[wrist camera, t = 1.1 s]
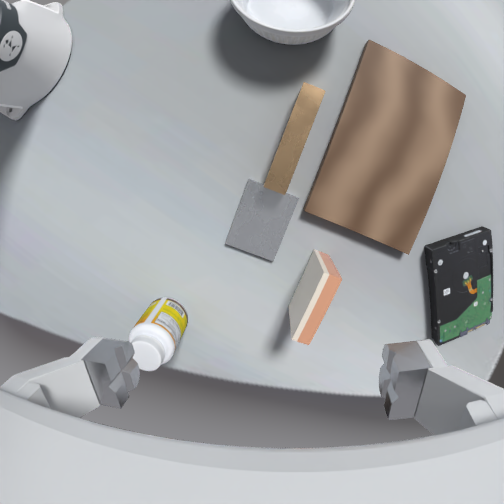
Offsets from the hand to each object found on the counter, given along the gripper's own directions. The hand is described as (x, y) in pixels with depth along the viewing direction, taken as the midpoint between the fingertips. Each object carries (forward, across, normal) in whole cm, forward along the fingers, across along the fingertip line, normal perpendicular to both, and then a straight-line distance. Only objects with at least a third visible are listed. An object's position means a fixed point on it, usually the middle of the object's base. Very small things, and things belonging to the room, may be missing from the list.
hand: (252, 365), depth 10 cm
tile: (+30, -2, +8) cm, 31 cm away
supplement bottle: (+28, +16, +12) cm, 35 cm away
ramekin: (+29, -2, -26) cm, 39 cm away
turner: (+29, 0, -5) cm, 29 cm away
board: (+30, -13, -8) cm, 33 cm away
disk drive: (+32, -24, +10) cm, 41 cm away
